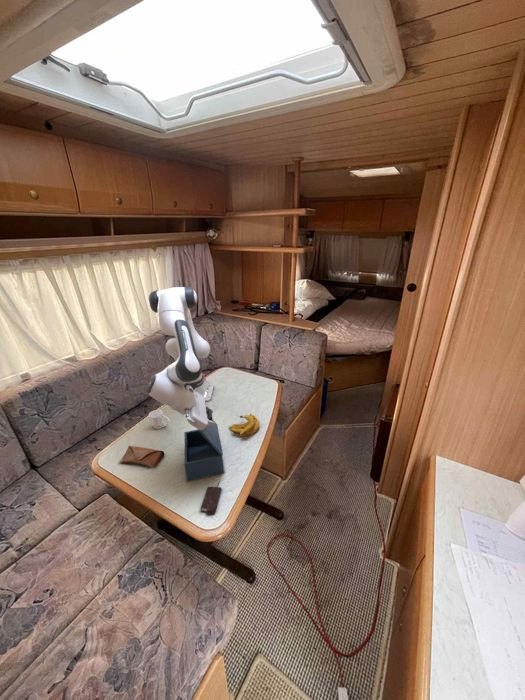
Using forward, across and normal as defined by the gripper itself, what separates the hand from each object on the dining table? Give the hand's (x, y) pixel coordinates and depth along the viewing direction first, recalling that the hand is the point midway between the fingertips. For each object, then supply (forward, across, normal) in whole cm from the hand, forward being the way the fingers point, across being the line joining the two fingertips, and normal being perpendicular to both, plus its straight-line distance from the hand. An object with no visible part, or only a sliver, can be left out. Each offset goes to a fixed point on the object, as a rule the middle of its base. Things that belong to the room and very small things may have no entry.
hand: (212, 418), depth 114 cm
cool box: (+11, 0, +19) cm, 22 cm away
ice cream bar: (+12, -20, +18) cm, 29 cm away
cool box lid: (+2, 0, +5) cm, 5 cm away
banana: (+26, +15, +4) cm, 30 cm away
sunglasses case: (-8, +8, +38) cm, 40 cm away
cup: (-4, +29, +34) cm, 45 cm away
